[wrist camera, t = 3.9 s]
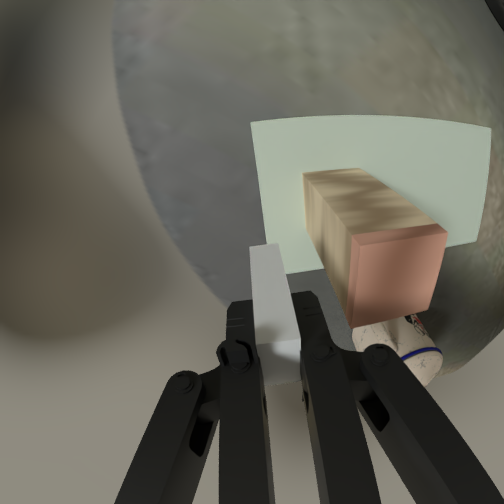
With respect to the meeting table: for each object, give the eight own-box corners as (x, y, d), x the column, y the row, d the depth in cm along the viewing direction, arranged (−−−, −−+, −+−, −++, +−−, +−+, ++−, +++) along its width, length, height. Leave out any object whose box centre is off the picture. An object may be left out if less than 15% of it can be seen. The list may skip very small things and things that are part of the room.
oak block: (359, 167, 21) (448, 232, 11) (358, 221, 24) (427, 309, 13) (301, 172, 21) (359, 245, 11) (305, 228, 24) (350, 328, 13)
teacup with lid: (419, 320, 32) (456, 386, 22) (365, 356, 35) (390, 425, 25) (392, 267, 27) (446, 346, 17) (325, 314, 30) (354, 403, 20)
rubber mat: (488, 127, 19) (491, 128, 18) (474, 239, 26) (476, 241, 25) (250, 122, 19) (250, 122, 19) (270, 273, 27) (271, 276, 26)
